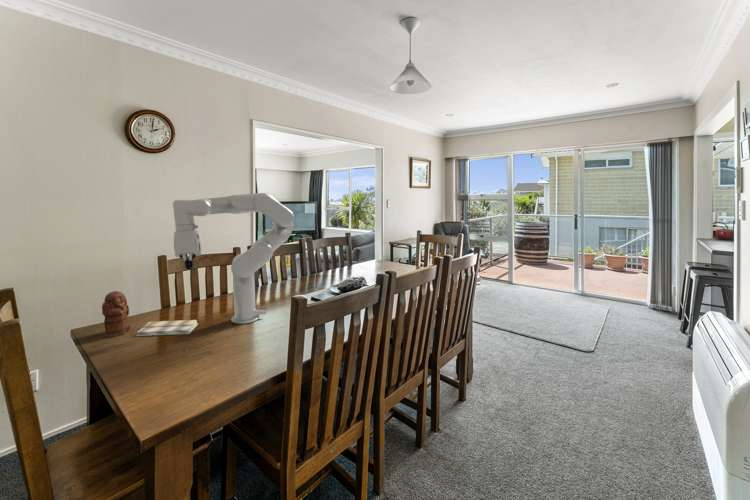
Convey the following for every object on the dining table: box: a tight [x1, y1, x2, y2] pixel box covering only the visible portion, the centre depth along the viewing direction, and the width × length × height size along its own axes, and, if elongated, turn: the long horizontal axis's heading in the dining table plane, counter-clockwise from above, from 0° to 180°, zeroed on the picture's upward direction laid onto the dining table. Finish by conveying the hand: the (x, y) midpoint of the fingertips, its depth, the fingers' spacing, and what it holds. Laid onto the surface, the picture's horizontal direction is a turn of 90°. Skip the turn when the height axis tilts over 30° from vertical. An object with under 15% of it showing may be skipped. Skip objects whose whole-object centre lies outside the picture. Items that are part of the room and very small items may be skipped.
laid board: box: [136, 325, 193, 336], centre depth 155 cm, size 20×6×1 cm, turn 99°
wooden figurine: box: [101, 290, 131, 338], centre depth 154 cm, size 12×6×18 cm, turn 11°
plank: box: [143, 319, 198, 327], centre depth 161 cm, size 20×6×1 cm, turn 99°
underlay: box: [135, 322, 199, 337], centre depth 158 cm, size 21×12×1 cm, turn 99°
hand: (189, 268), depth 161 cm, fingers closed
